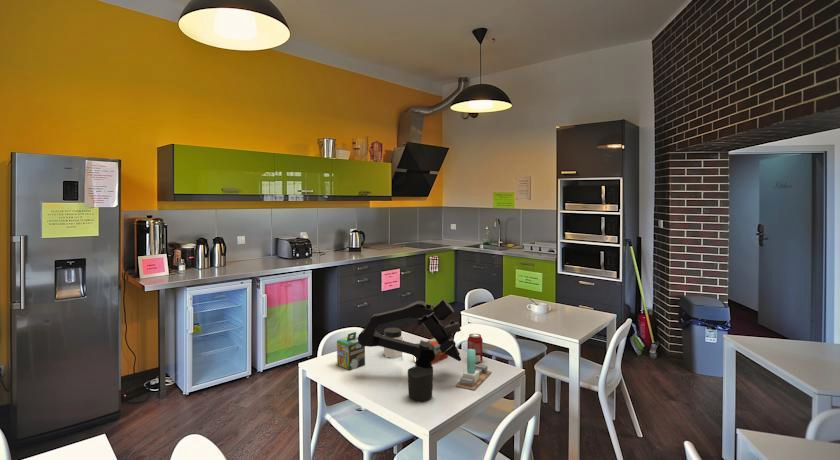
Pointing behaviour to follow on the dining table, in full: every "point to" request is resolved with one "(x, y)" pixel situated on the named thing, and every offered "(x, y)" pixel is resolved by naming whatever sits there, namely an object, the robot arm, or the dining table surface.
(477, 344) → the soda can
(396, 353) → the jar
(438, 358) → the medicine box
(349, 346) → the chalk box
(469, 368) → the carriage
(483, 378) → the rail
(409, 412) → the dining table surface
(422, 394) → the pen holder
